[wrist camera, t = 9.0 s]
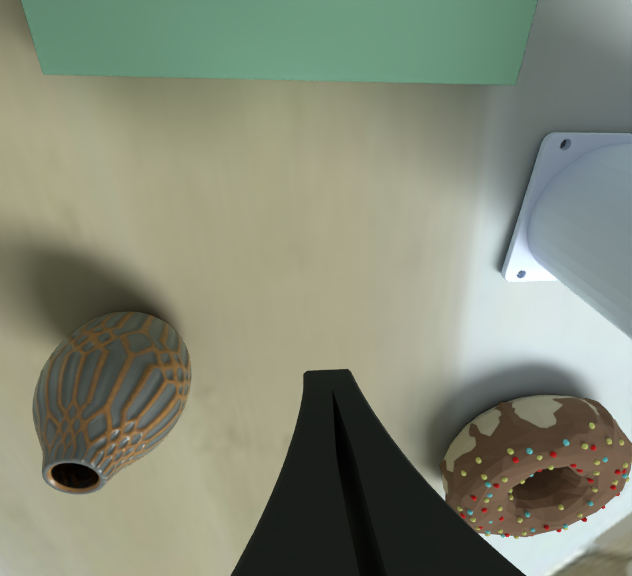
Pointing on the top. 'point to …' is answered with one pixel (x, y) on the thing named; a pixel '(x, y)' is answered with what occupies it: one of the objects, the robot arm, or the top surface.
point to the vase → (108, 398)
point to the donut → (535, 465)
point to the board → (285, 39)
